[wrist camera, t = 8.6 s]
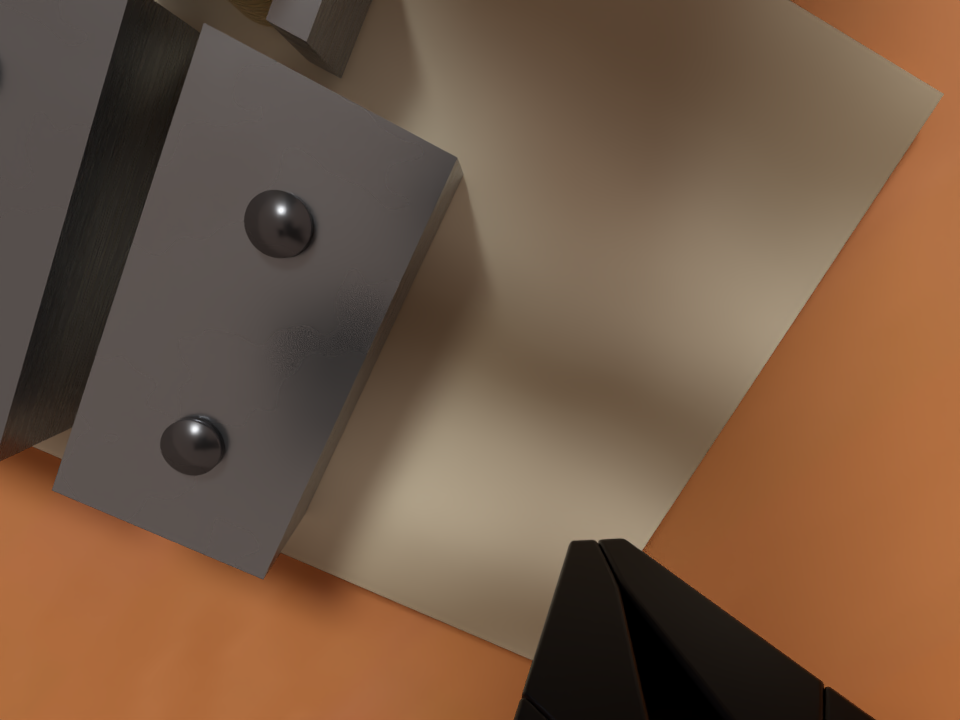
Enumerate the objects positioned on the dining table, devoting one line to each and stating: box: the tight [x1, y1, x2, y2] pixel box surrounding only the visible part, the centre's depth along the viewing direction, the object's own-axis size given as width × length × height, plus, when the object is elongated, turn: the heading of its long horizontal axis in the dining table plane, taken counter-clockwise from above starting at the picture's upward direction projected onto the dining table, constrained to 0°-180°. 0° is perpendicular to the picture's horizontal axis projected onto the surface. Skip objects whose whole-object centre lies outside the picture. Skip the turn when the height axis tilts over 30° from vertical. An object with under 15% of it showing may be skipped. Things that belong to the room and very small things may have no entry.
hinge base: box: [0, 0, 273, 461], centre depth 9 cm, size 6×12×3 cm, turn 153°
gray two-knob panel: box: [52, 0, 464, 579], centre depth 10 cm, size 4×12×3 cm, turn 153°
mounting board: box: [33, 0, 944, 660], centre depth 11 cm, size 16×21×1 cm
